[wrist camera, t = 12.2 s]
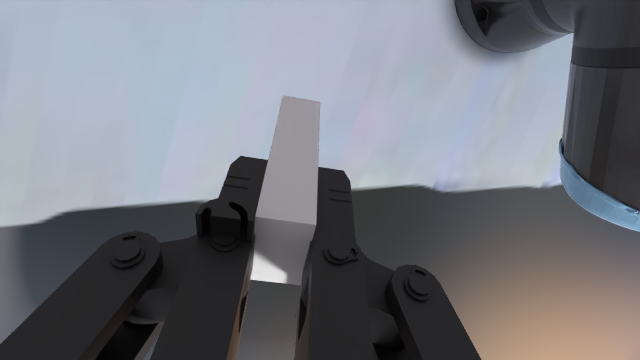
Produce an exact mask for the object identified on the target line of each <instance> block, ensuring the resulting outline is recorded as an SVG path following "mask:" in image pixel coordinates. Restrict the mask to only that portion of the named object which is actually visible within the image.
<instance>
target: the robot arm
mask: <svg viewBox="0 0 640 360" xmlns="http://www.w3.org/2000/svg"><path fill="white" fill-rule="evenodd" d="M455 3H456V8H457V13H458V16H459V19H460V21H461V24H462V26H463V28H464V29H465V31H466V32H467V34H468V35H469V36H470V37H471V38H472V39H473V40H474V41H475V42H476V43H477V44H479V45H480V46H482V47H484V48H486V49H489V50H492V51H497V52H522V51H527V50H531V49H534V48H537V47H539V46H541V45H544V44H546V43H549V42H551V41H553V40H556V39H558V38H560V37H563V36H565V35H567V34H570V33H574V37H573V48H572V57H571V62H570V71H569V80H568V89H567V98H566V107H565V116H564V125H563V134H562V138H561V140H560V142H559V153H560V156H561V166H560V178H561V182H562V184H563V185H564V187H565V190H566V191H567V193H568V194H569V196H570V197H571V198H572V199H573V200H574V201H575V202H576V203H578V204H579V205H580V206H582V207H583V208H584V209H586V210H587V211H589V212H591V213H593V214H594V215H596V216H598V217H601V218H603V219H605V220H607V221H609V222H612V223H614V224H617V225H619V226H622V227H626V228H629V229H632V230H636V231H640V0H455ZM319 122H320V102H317V101H311V100H306V99H300V98H294V97H289V96H283V98H282V102H281V106H280V111H279V115H278V119H277V124H276V128H275V132H274V137H273V141H272V146H271V150H270V154H269V159H268V160H264V159H257V158H251V157H244V156H240V157H239V158H238V159H236V160H235V161H234V162H233V163H232V164H231V165H230V168H229V171H228V173H227V177H226V179H225V181H224V184H223V187H222V190H221V192H220V195H219V198H217V199H213V200H210V201H208V202H206V203H205V204H203V205H202V206H200V208H199V209H198V211H197V212H196V213H195V215H196V226H197V234H196V235H194V236H192V237H189V238H186V239H182V240H176V241H169V242H162V243H158V241H157V239H156V238H155V237H153V236H151V235H150V234H148V233H143V232H128V233H123V234H120V235H118V236H115V237H113V238H111V239H109V240H108V241H107V242H106V243H104V244H103V245H101V246H100V247H99V248H98V249H97V250H96V251H95V252H94V253H93V254H92V255H91V256H90V257H89V258H88V259H87V260H86V261H85V262H84V263H83V264H82V265H81V266H80V267H79V268H78V269H77V270H76V271H75V272H74V273H73V274H72V275H71V276H70V277H69V278H68V279H67V280H66V281H65V282H64V283H63V284H62V285H61V286H59V287H58V289H56V290H55V291H54V292H53V293H52V294H51V295H50V297H48V298H47V299H46V300H45V301H44V302H43V303H42V304H41V305H40V306H39V307H38V308H37V309H36V310H35V311H34V312H33V313H32V314H31V315H30V316H29V317H28V318H27V319H26V320H25V321H24V322H23V323H22V324H21V325H20V326H19V327H18V328H17V329H16V330H15V331H14V332H12V333H11V334H10V336H8V338H6V339H5V340H4V341H3V342H2V343H1V344H0V360H143V359H144V357H145V356H146V354H147V353H148V351H149V350H150V348H151V347H152V345H153V343H154V342H155V340H156V339H157V337H158V336H159V338H158V340H157V343H156V346H155V348H154V351H153V353H152V356H151V359H150V360H236V355H237V350H238V345H239V340H240V335H241V330H242V324H243V320H244V314H245V310H246V305H247V300H248V288H249V284H250V279H252V280H260V281H269V282H278V283H287V284H296V285H301V282H302V288H301V296H300V299H299V303H298V307H297V310H296V314H295V317H297V329H296V343H295V357H294V360H481V358H480V356H479V354H478V353H477V351H476V349H475V347H474V345H473V343H472V342H471V340H470V338H469V336H468V334H467V332H466V330H465V329H464V327H463V325H462V323H461V321H460V319H459V318H458V316H457V314H456V312H455V310H454V308H453V307H452V305H451V303H450V301H449V299H448V297H447V295H446V294H445V292H444V290H443V288H442V286H441V284H440V283H439V282H438V280H437V279H436V278H435V276H433V275H432V274H431V273H429V272H428V271H427V270H426V269H423V268H421V267H419V266H416V265H404V266H400V267H398V268H397V269H396V270H395V271H393V270H391V269H389V268H386V267H384V266H382V265H379V264H377V263H375V262H373V261H372V260H370V259H369V258H367V257H366V256H365V255H364V254H363V253H362V252H361V249H360V248H359V247H358V245H357V243H356V239H355V230H354V220H353V208H352V197H351V184H350V180H349V179H348V177H347V175H346V174H345V172H344V171H342V170H335V169H329V168H322V167H318V154H319ZM159 334H160V335H159Z"/></svg>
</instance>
